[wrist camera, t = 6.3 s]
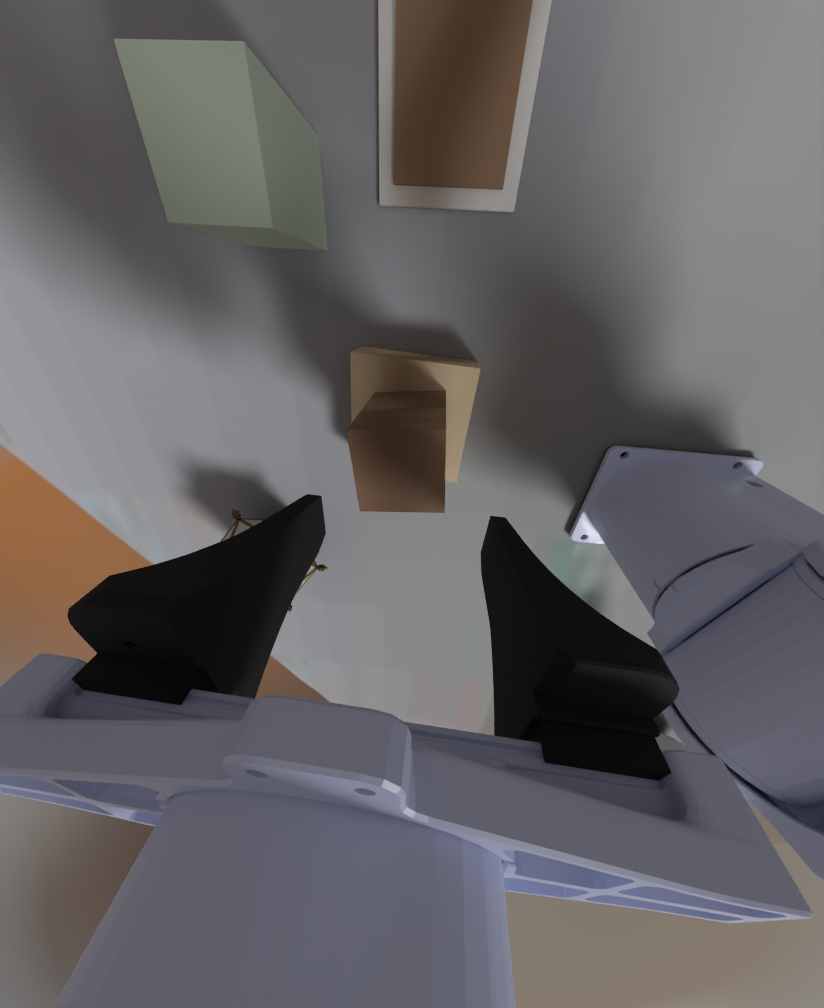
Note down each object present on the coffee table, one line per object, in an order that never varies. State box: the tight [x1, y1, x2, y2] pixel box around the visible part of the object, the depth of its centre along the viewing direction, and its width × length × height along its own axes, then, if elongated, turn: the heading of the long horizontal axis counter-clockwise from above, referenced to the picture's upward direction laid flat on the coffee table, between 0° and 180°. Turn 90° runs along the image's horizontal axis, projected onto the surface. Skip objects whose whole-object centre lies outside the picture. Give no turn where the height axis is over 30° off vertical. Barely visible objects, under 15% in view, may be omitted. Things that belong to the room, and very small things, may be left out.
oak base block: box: [350, 346, 481, 483], centre depth 19 cm, size 7×7×3 cm
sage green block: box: [113, 39, 328, 251], centre depth 12 cm, size 4×4×6 cm
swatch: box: [378, 0, 552, 213], centre depth 12 cm, size 6×6×1 cm
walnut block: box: [346, 391, 446, 513], centre depth 15 cm, size 4×4×6 cm
